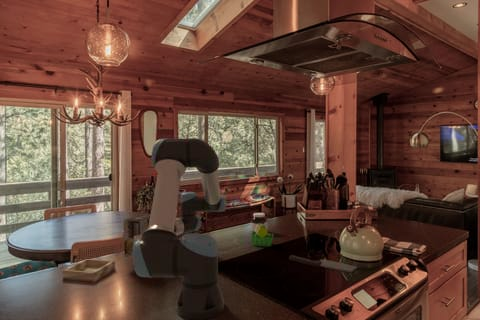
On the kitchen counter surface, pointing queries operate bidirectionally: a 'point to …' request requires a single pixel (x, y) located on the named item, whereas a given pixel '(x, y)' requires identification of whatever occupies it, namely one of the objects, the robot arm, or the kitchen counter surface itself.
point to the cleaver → (324, 264)
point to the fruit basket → (262, 237)
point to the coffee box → (133, 232)
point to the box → (88, 270)
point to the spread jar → (258, 221)
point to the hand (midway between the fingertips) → (127, 237)
